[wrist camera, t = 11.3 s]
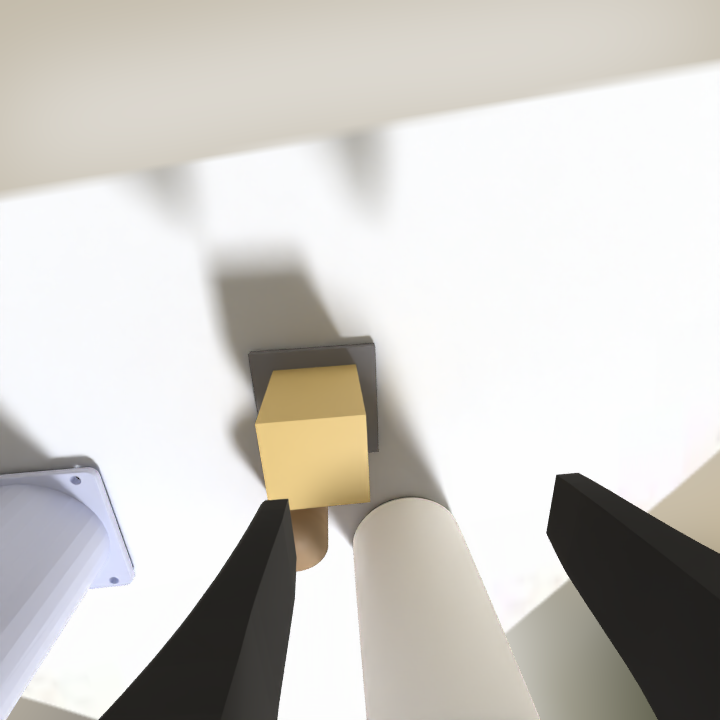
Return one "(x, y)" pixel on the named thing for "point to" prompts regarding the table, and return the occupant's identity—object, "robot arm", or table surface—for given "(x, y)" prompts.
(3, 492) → the robot arm
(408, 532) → the can
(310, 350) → the coaster
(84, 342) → the table surface
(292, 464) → the ochre block
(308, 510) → the cork cylinder
